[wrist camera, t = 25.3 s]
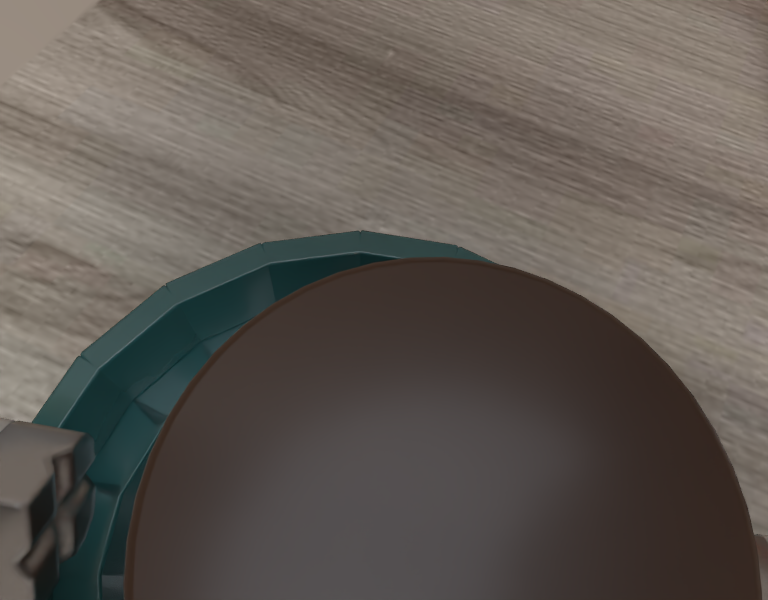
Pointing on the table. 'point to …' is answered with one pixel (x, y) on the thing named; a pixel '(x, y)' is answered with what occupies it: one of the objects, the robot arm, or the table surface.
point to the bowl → (180, 372)
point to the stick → (438, 454)
